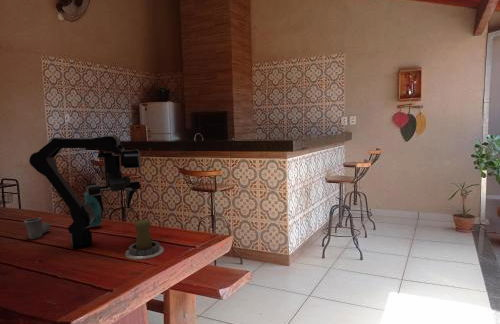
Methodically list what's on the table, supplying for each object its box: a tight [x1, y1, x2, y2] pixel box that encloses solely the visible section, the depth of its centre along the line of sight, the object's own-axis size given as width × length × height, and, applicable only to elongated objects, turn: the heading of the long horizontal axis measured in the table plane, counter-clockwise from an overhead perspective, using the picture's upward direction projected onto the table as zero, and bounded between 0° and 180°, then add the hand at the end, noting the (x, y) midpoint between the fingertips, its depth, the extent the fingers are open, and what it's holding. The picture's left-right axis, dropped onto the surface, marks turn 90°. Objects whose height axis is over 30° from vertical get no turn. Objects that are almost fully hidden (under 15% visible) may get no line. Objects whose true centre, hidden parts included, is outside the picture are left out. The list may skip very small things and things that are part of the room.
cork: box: [134, 219, 153, 249], centre depth 131 cm, size 6×6×11 cm
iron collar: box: [124, 240, 165, 261], centre depth 132 cm, size 13×13×3 cm
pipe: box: [23, 217, 51, 240], centre depth 156 cm, size 6×13×8 cm, turn 176°
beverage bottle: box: [83, 182, 103, 227], centre depth 165 cm, size 6×7×20 cm
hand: (115, 209), depth 142 cm, fingers open, 9 cm apart
